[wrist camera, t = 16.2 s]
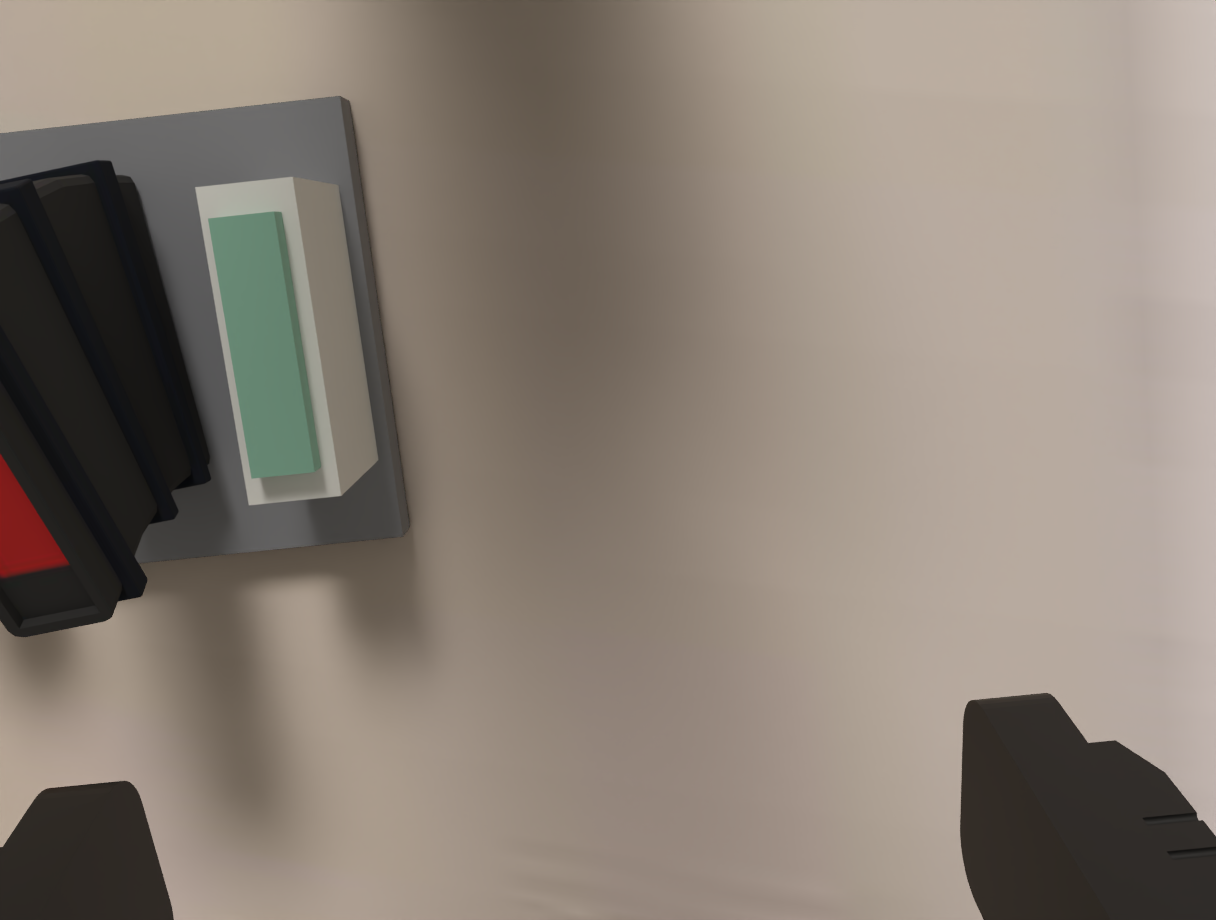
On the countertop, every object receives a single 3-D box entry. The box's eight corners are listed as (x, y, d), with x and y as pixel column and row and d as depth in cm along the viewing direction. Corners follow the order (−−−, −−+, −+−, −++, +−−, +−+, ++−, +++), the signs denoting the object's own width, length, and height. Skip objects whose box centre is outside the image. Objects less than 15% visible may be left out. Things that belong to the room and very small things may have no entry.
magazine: (98, 71, 39) (-79, 277, 27) (243, 393, 46) (158, 666, 34) (-10, 94, 39) (-234, 310, 27) (153, 412, 47) (37, 690, 34)
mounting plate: (-111, 151, 42) (-283, 131, 34) (349, 100, 42) (285, 68, 34) (-20, 570, 45) (-158, 643, 37) (409, 526, 45) (364, 591, 37)
